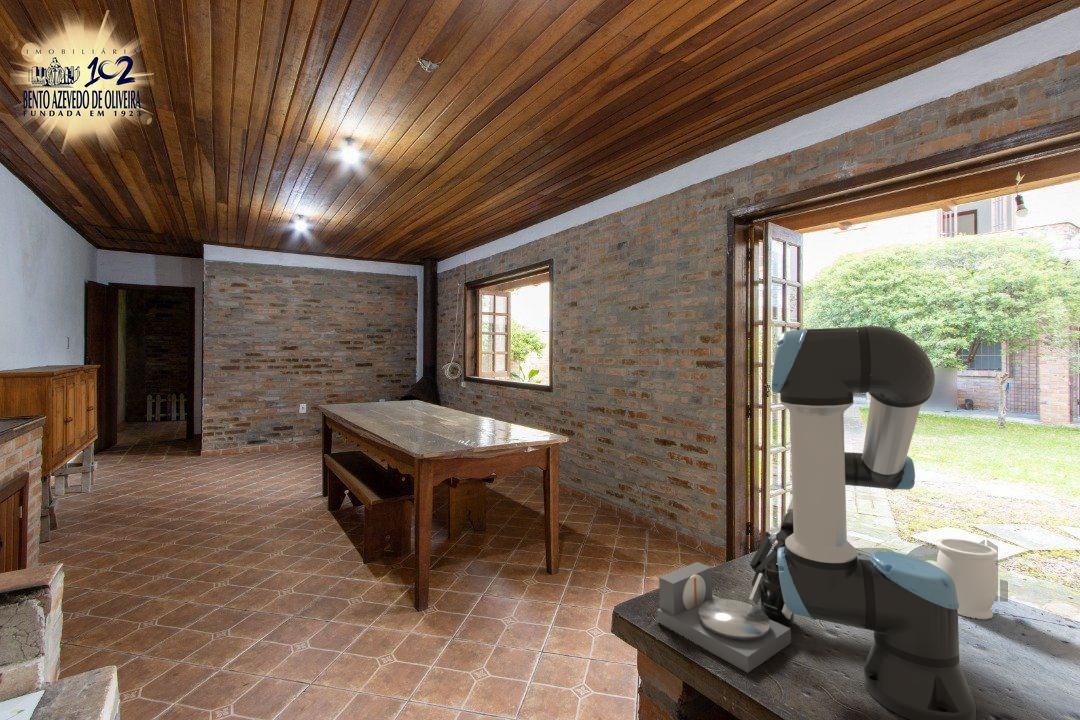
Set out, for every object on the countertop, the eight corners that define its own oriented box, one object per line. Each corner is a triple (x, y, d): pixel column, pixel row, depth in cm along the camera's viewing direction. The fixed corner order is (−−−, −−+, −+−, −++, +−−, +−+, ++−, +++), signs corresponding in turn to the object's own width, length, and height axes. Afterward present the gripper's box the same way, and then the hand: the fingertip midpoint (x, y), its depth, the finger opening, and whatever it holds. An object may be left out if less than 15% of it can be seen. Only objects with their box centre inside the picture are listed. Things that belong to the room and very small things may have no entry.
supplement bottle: (763, 627, 104) (761, 572, 104) (758, 611, 111) (757, 560, 111) (798, 631, 102) (796, 575, 102) (791, 615, 109) (789, 563, 109)
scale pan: (783, 624, 98) (783, 618, 98) (745, 648, 90) (745, 641, 90) (723, 598, 110) (723, 593, 110) (685, 617, 102) (685, 612, 102)
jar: (974, 600, 114) (972, 538, 114) (1013, 623, 103) (1010, 555, 104) (927, 599, 115) (925, 537, 115) (960, 622, 105) (958, 554, 105)
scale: (791, 643, 98) (789, 594, 98) (747, 672, 89) (746, 619, 89) (700, 601, 116) (699, 560, 116) (657, 622, 107) (656, 578, 107)
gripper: (853, 540, 107) (822, 636, 98) (769, 518, 124) (735, 599, 114) (842, 521, 105) (808, 619, 95) (757, 502, 121) (721, 583, 111)
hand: (768, 608), depth 104 cm, fingers closed on supplement bottle, 7 cm apart
